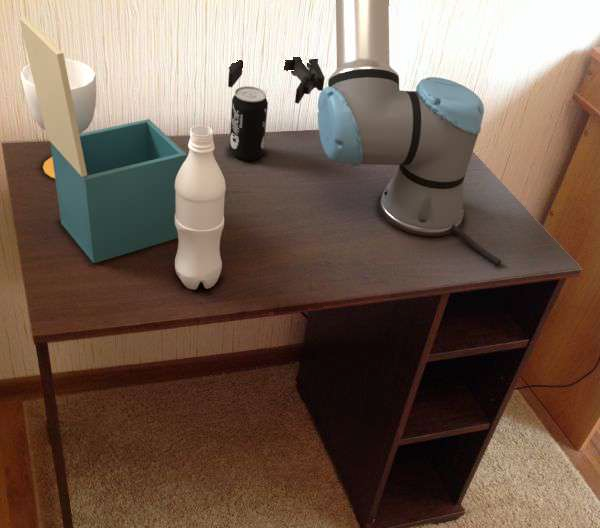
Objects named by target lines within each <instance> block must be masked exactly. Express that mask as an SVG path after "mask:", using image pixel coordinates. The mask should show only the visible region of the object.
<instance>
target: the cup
mask: <svg viewBox="0 0 600 528" xmlns="http://www.w3.org/2000/svg"><path fill="white" fill-rule="evenodd" d="M64 59H65V65H66V70H67V75H68V80H69V85H70V90H71V95H72V100H73V105H74V110H75V116H76V121H77V126H78V131H79V134H81V133H84V132H85V131H86V130H87V129H88V128H89V126H90V125H91V123H92V122H93V119H94V115H95V111H96V107H97V75H96V73H95V70H94V69H93V67H91V66H89V65H88V64H86V63H85V62H82V61H78V60H75V59H70V58H64ZM20 78H21V83H22V88H23V91H24V95H25V99H26V103H27V106H28V109H29V111H30V113H31V115H32V118H33V120H34V121H35V123H36V124H37V125H38V126H39V127H40V129H42V130H43V131H45V128H44V123H43V119H42V115H41V110H40V106H39V102H38V98H37V93H36V89H35V85H34V80H33V76H32V72H31V68H30V63H28V64H27V65H25V66H24V67H23V69H22V70H21V73H20ZM42 168H43V171H44V174H45V175H47V176H48V177H50V178H51V179H54V180H55V173H54V166H53V159H52V156H51V157H49V158H48V159H47V160H45V161H44V163H43V165H42Z"/></svg>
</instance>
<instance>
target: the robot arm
mask: <svg viewBox="0 0 600 528" xmlns="http://www.w3.org/2000/svg"><path fill="white" fill-rule="evenodd" d="M389 7H390V5H389V0H336V4H335V36H336V37H335V40H336V70H335V71H334V72H333V73H332V74H331V75H330V76H329V78H328V79H327V86H326V87H324V86H325V75H324V73H323V71H322V69H321V67H320V65H319V58H318V59H312V58H309V59H308V60H309V63H307V66H305V65H304V64H303V63H302V60H301V58H300V57H293V60H285V61H286V62H285V66H284V70H283V71H285V70H286V71H285V72H288V70H294V71H291V73H290V74H291V75H292V76H293V77H297V78H298V80H299V81H300V83H299V85H298V86H297V88H296V90H295V97H294V98H295V100H294V104H297V105H298V104H300V102H301V101H302V99H303V98H304V97H305V95H310V94H311V92H312V91H313V90H315V89H316V90H318V91H320V93H319V95H318V100H317V110H318V112H317V126H318V133H319V138H320V143H321V146H322V149H323V151H324V153H325V155H326V157H327V158H328V159H329V160H330V161H331V162H333V163H336V164H345V165H346V164H348V165H352V166H359V165H375V166H376V165H378V166H379V165H381V166H382V165H384V166H386V165H387V166H389V165H390V166H398V167H397V170H396V171H395V173H394V174H393V176H392V177H391V179H390V181H389V182H388V184H387V185H386V187H385V188H384V190H383V192H382V194H381V198H380V202H379V211H380V213H381V216H382V217H383V218H384V219H385V220H386V222H388V223H389V224H390V225H392V226H393V227H395V228H396V229H399V230H400V231H403V232H405V233H408V234H411V235H415V236H420V237H429V238H436V237H437V238H438V237H444V236H448V235H450V234H452V233H455V234H456V235H457V236H458V237H460V238H461V239H462V240H463V241H464V242H465V243H467V245H469V246H470V247H471V248H472V249H473V250H475V251H476V252H477V253H478V254H480V255H481V256H483V257H484V258H486V259H488V260H489V261H490V262H492V263H494V264H495V265H497V266H499V265H500V264H501V263H502V260H501V259H499V258H498V257H496V256H495V255H493V254H492V253H490V252H489V251H487V249H484V248H483V247H482V246H480V245H479V244H477V242H476V241H474V240H473V239H472V238H471V237H469V235H467V234H466V233H465V232H464V231H462V230H461V229H460V227H461V224H462V221H463V218H464V212H465V206H464V180H465V177H466V174H467V172H468V168H469V164H470V162H471V158H472V156H473V152H474V149H475V146H476V143H477V139H478V137H479V134H480V133H481V129H482V128H481V127H482V123H483V118H484V114H485V107H484V106H485V105H484V103H483V101H482V99H481V98H480V96H479V95H477V93H475V92H474V91H473V90H471V89H470V88H468V87H467V86H465V85H463V84H461V83H458V82H456V81H453V80H451V79H446V78H444V77H443V78H442V77H437V76H430V77H426V78H422V79H421V80H420V81H419V82H418V84H417V85H416V87H415V90H401V89H400V75H399V73H398V72H397V71H396V70H394V69H393V67H391V65H390V17H389V15H390V11H389V9H390V8H389ZM237 61H238V60H237ZM242 68H243V61H242V60H239V61H238V62H236V63H232V64H231V66H230V67H229V68H228V78H227V79H228V80H227V81H228V83H227V87H228V88H233V87H234V85H235V84H236V83H237V82H238V81H239V79H240V78H241V77H242V75H243V71H242Z"/></svg>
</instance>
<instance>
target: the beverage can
mask: <svg viewBox="0 0 600 528" xmlns="http://www.w3.org/2000/svg"><path fill="white" fill-rule="evenodd" d="M268 106H269V102H268V99H267V93H266V92H265V91H264V90H263V89H261V88H259V87H257V86H250V85H245V86H244V85H243V86H240V87H238V88H236V89H235V91H234V95H233V97H232V99H231V112H230V113H231V114H230V129H229V130H230V131H229V148H228V149H229V152H230V153H231V154H232V156H233V157H234V158H235V159H238V160H240V161H243V162H253V161H257V160H259V158H260V157H262V156H263V154H264V152H265V151H264V150H265V140H266V128H267V119H268V118H267V117H268Z"/></svg>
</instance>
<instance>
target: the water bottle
mask: <svg viewBox="0 0 600 528" xmlns="http://www.w3.org/2000/svg"><path fill="white" fill-rule="evenodd" d="M189 134H190V135H189V136H190V138H189V139H188V144H187V148H188V149H189V150H188V154H187V158H186V160H185V161H184V163H183V165H182V166H181V168H180V170H179V171H178V174H177V176H176V179H175V191H176V213H175V226H176V228H177V232H178V238H177V239H178V243H177V250H176V253H175V258H174V269H175V274H176V275H177V277H178V279H180V282H181V283H182V284H183V286H184V287H185V288H187V289H189V290H197V289H198V287H199V285H200V283H202V285H203V288H205V289H206V290H209V289H211V288H212V287H214V286H215V285H216V284H217V282H218V280H219V278H220V276H221V273H222V268H223V260H222V258H221V249H220V247H221V246H220V245H221V237H222V233H223V230H224V226H225V216H224V215H225V197H226V196H225V195H226V191H227V185H226V179H225V177H224V174H223V172H222V170H221V168H220V166H219V164H218V162H217V161H216V158H215V156H214V150H215V148H216V146H215V144H214V130H213V129H212V127H210V126H207V125H204V124H197V125H194V126H192V127H191V128H190V130H189Z"/></svg>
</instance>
